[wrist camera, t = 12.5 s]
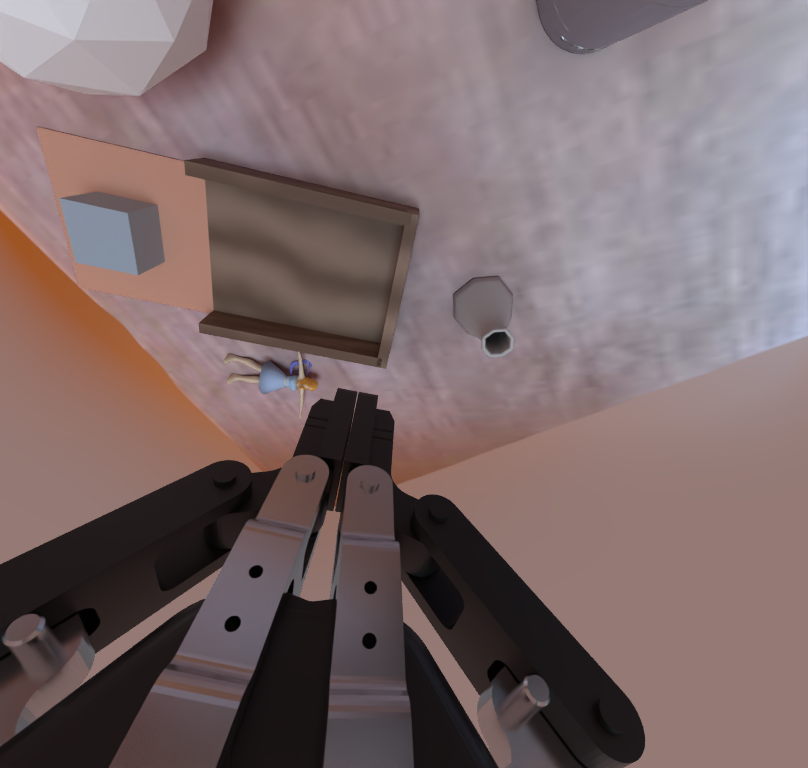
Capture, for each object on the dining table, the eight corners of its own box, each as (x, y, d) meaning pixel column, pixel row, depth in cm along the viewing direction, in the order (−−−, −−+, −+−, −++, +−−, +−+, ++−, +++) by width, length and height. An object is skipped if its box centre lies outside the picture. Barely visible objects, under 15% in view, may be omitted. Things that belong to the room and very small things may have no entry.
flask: (463, 341, 48) (473, 384, 40) (443, 289, 44) (450, 325, 36) (519, 320, 46) (543, 361, 38) (504, 265, 43) (526, 296, 34)
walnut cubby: (204, 157, 38) (183, 160, 34) (418, 208, 40) (419, 215, 36) (214, 318, 47) (199, 332, 44) (387, 352, 49) (386, 368, 46)
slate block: (96, 191, 39) (59, 198, 35) (157, 205, 40) (127, 213, 36) (108, 249, 42) (75, 262, 38) (164, 261, 43) (138, 275, 39)
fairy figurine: (211, 338, 45) (310, 355, 44) (232, 322, 49) (323, 337, 48) (224, 415, 51) (311, 431, 50) (242, 395, 55) (323, 409, 54)
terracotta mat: (38, 126, 36) (36, 126, 36) (205, 166, 38) (204, 166, 38) (79, 286, 45) (78, 287, 45) (214, 313, 47) (213, 313, 46)
